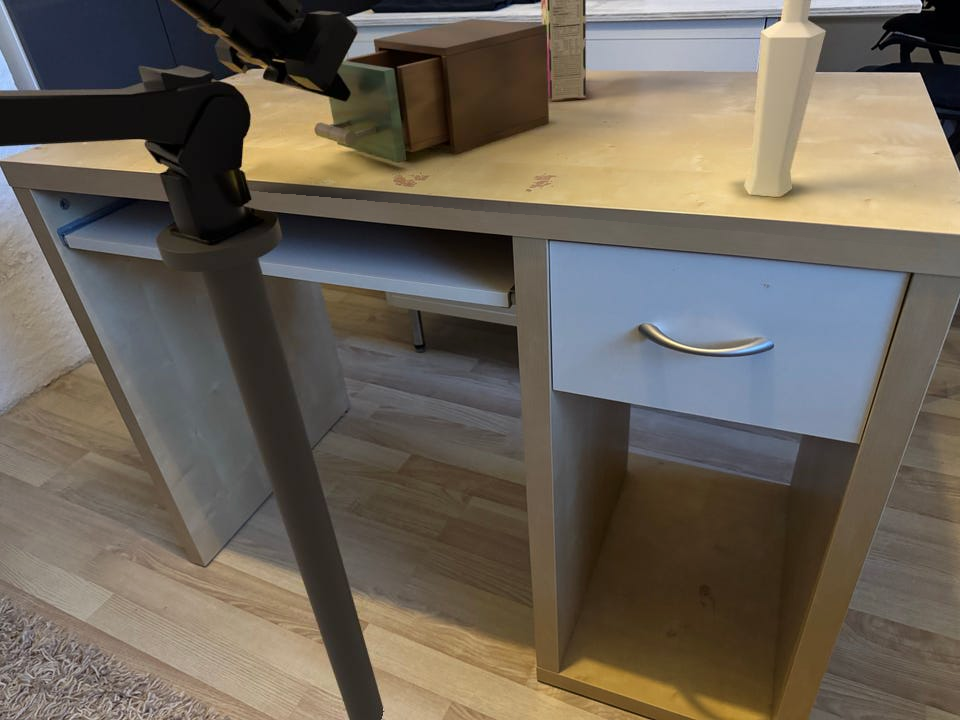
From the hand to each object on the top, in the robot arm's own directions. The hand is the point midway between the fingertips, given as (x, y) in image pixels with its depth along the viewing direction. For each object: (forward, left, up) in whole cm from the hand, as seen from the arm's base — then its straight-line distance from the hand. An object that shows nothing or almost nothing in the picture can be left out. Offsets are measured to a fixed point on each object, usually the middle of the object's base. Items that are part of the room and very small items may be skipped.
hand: (347, 97), depth 70 cm
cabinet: (+15, -4, -7) cm, 17 cm away
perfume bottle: (+8, -40, -7) cm, 41 cm away
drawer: (+6, -2, -6) cm, 8 cm away
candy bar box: (+35, -6, -7) cm, 36 cm away
